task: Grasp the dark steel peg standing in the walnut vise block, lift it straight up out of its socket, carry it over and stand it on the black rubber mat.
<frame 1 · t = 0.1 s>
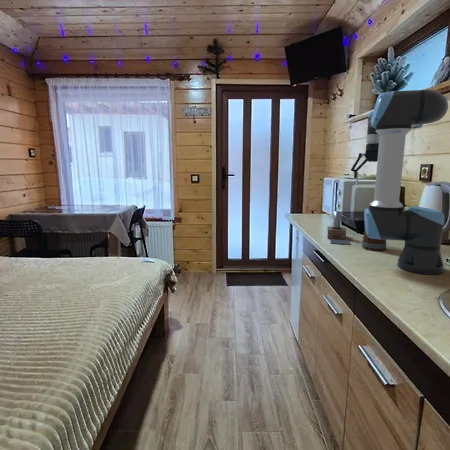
hand: (370, 185, 168), 28 cm above the worktop, fingers open, 13 cm apart
mat: (339, 242, 163), on the worktop
vise block: (336, 237, 173), on the worktop
mug: (372, 247, 155), on the worktop
peg: (337, 224, 172), in the vise block
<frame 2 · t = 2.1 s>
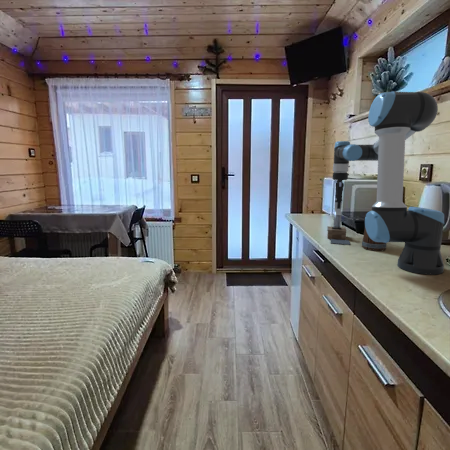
hand: (337, 212, 171), 13 cm above the worktop, fingers open, 13 cm apart
nothing on the worktop moved.
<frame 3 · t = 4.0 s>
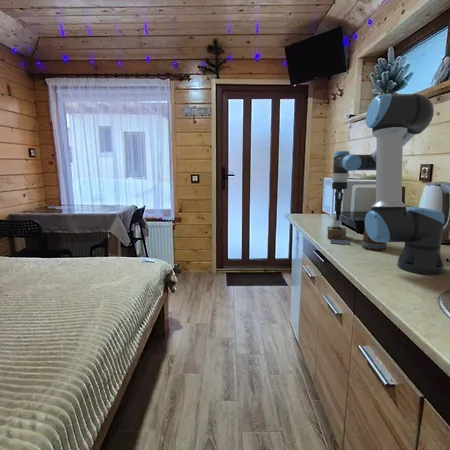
hand: (337, 225, 172), 7 cm above the worktop, fingers closed on peg, 4 cm apart
peg: (337, 224, 172), in the vise block, touching gripper
everything else where it was.
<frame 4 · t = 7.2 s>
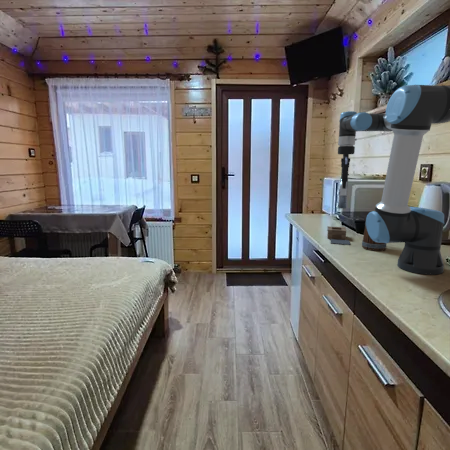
hand: (343, 194, 159), 24 cm above the worktop, fingers closed on peg, 4 cm apart
peg: (343, 193, 159), point 24 cm above the worktop, touching gripper
everything else where it was.
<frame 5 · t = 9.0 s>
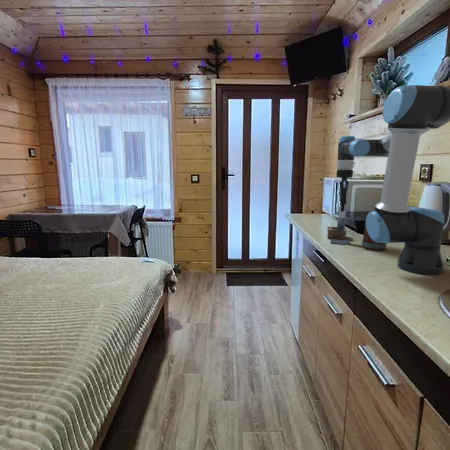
hand: (341, 216, 161), 13 cm above the worktop, fingers closed on peg, 4 cm apart
peg: (341, 216, 161), point 13 cm above the worktop, touching gripper
everything else where it was.
when the fingers open (8 cm above the worktop, at t = 10.7 s): peg stays where it is, resting on mat.
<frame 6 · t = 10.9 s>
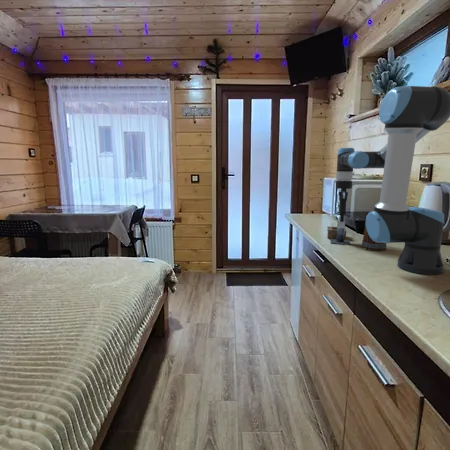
hand: (341, 226, 162), 8 cm above the worktop, fingers open, 5 cm apart
peg: (340, 227, 162), on the mat
everything else where it was.
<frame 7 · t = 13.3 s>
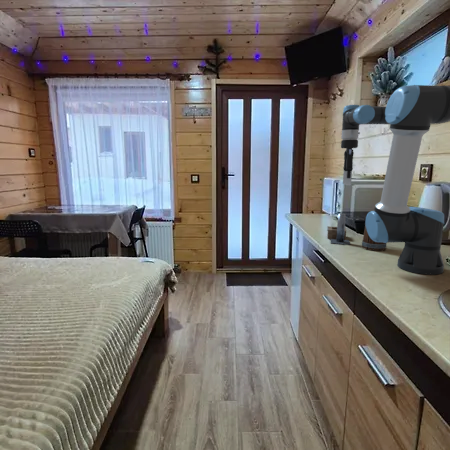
hand: (346, 184, 158), 29 cm above the worktop, fingers open, 13 cm apart
nothing on the worktop moved.
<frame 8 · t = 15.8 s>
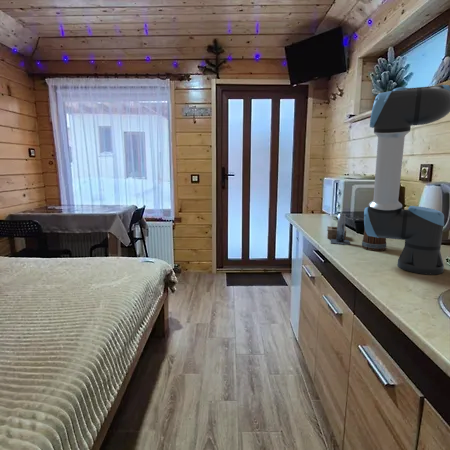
hand: (393, 168, 157), 37 cm above the worktop, fingers open, 13 cm apart
nothing on the worktop moved.
at the end: peg inside the target area on the mat (0.1 cm from its centre), point 7.4 cm above the mat's base; peg tilted 0°; the gripper is holding nothing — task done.
